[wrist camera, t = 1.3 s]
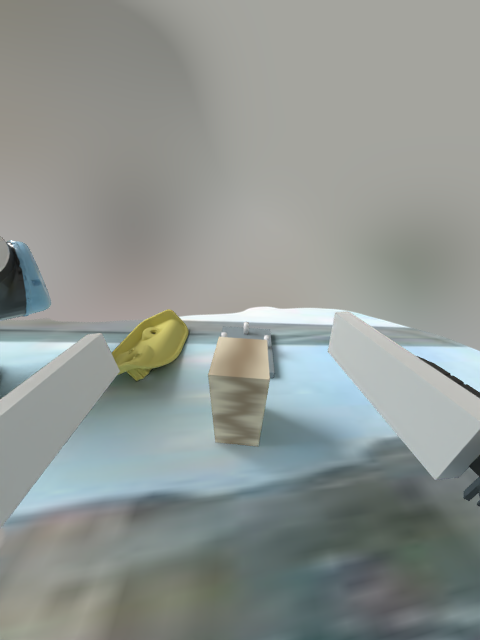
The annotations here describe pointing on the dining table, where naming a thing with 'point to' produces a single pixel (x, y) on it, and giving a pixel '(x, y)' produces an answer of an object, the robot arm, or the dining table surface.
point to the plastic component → (151, 344)
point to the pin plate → (252, 334)
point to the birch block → (239, 389)
